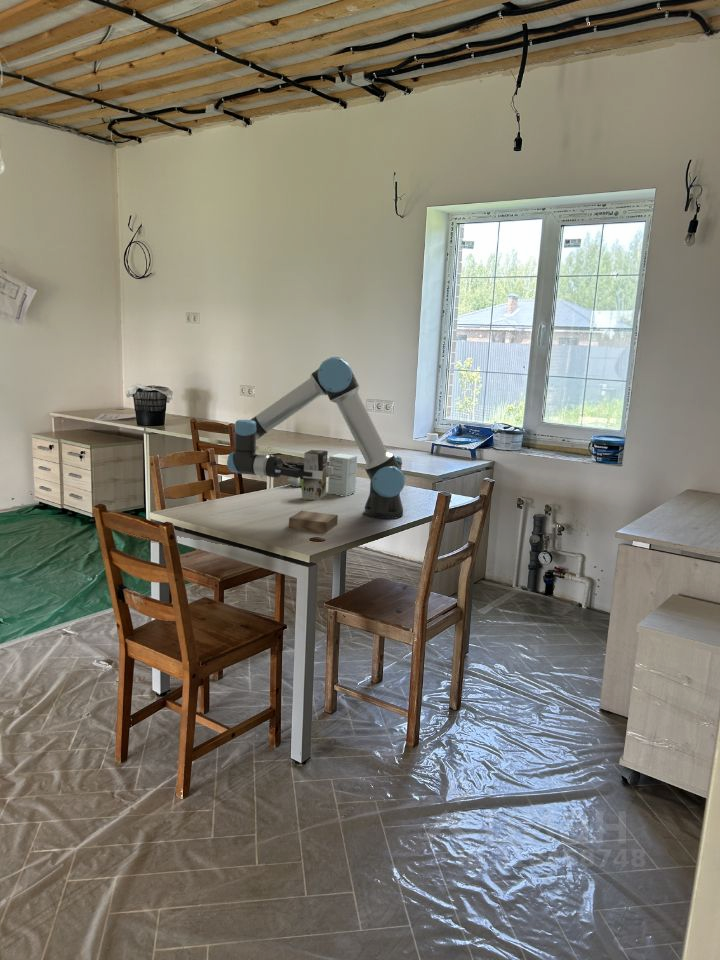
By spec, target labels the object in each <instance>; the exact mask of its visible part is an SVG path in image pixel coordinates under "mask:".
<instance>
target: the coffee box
mask: <svg viewBox="0 0 720 960" xmlns="http://www.w3.org/2000/svg"><path fill="white" fill-rule="evenodd" d="M328 452H329V451H328V450H321V449H320V450H319V449H316V450H315V449H314V450H313V449H310V450H308V451H306V452H304V454H303V455H304V458H303V459H304V460H303V463H304V469H307V470H315V471H322V479H313V478H305V477H304V476H303V498H306V499H315V500H314V501H319V500H321V499H322V498H324V497H325V496H326V495H327V475H328V474H327V466H328ZM303 498H302V499H303Z"/></svg>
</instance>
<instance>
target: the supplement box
mask: <svg viewBox="0 0 720 960" xmlns="http://www.w3.org/2000/svg"><path fill="white" fill-rule="evenodd" d="M328 459H329V460H328V466H330V467H333V474H332V475H330V474H328V482H327V483H328V485H327V486H328V487H327V494H328V493H329V494H328V495H332V494H336V495H335V496H338V495H343V496H342V497H344V496H347V495H349V496H351V495H350V494H352V493H354V494H356V489H357V488H356V486H357V484H356V483H357V468H358V467H357V466H358V465H357V464H358V455H353V454H352V455H351V454H345V453H337V454H333V455H329V458H328ZM352 495H353V494H352ZM347 497H348V496H347Z"/></svg>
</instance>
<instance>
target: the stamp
mask: <svg viewBox="0 0 720 960" xmlns="http://www.w3.org/2000/svg"><path fill="white" fill-rule="evenodd" d="M299 478H300V477H299ZM299 478H295V477H288V478H287V479H286V480H287V483H288V484H289V485H290V486H291V485H294V486H293V487H295V486H301V483H300V480H299Z"/></svg>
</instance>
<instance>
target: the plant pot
mask: <svg viewBox="0 0 720 960" xmlns="http://www.w3.org/2000/svg"><path fill="white" fill-rule="evenodd" d="M299 480H300V483H301V487H300V488H301V489H300V490H301V498H302V499H303V500H304V501H309V500H310V501H316V500H315V499H306V498H303V479H300V478H299Z"/></svg>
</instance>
